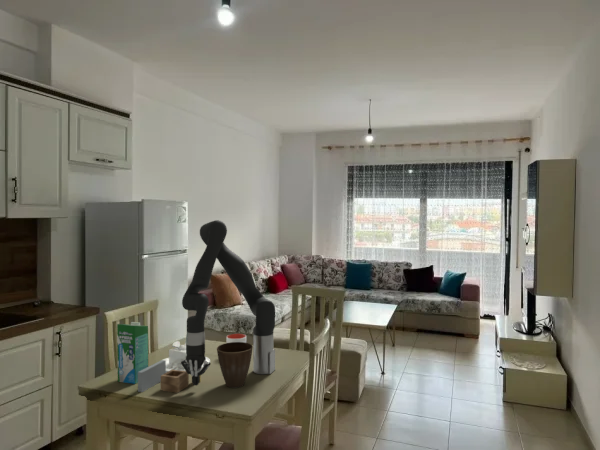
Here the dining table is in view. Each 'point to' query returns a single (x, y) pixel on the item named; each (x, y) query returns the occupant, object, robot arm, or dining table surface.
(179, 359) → the dish
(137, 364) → the milk carton
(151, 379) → the wall
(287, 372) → the dining table surface
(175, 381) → the brown wooden open box
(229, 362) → the plant pot
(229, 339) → the cup
